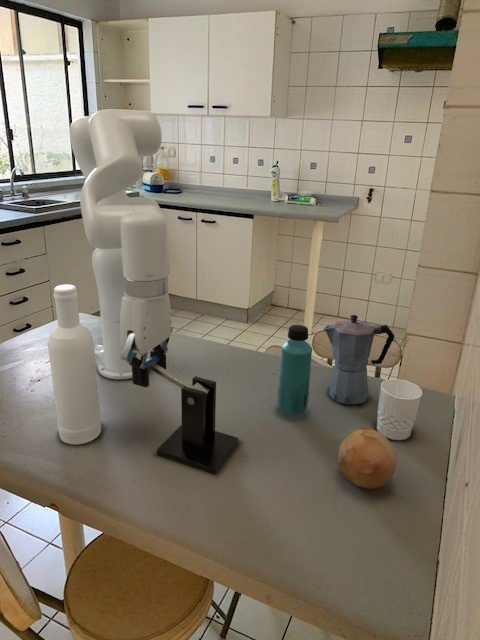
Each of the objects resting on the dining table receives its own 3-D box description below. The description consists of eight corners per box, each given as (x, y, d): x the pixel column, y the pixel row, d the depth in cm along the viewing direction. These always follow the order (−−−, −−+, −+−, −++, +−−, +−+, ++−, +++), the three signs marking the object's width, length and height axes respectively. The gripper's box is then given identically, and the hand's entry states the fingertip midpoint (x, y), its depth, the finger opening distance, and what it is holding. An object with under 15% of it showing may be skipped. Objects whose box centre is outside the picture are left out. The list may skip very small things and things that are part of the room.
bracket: (157, 454, 86) (154, 389, 80) (184, 426, 94) (183, 366, 89) (215, 474, 81) (216, 407, 76) (238, 442, 90) (240, 380, 85)
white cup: (385, 415, 101) (392, 374, 97) (420, 431, 95) (429, 389, 92) (366, 429, 95) (373, 387, 92) (401, 447, 90) (410, 403, 86)
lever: (136, 373, 84) (139, 362, 83) (152, 362, 89) (155, 352, 87) (196, 409, 81) (200, 399, 80) (209, 396, 86) (213, 386, 84)
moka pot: (314, 383, 112) (322, 306, 105) (377, 386, 112) (390, 309, 105) (319, 404, 104) (328, 322, 96) (388, 408, 103) (403, 325, 96)
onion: (404, 495, 78) (414, 446, 74) (351, 506, 75) (360, 455, 72) (373, 458, 87) (381, 413, 83) (325, 467, 84) (331, 420, 80)
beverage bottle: (305, 422, 97) (314, 335, 89) (274, 418, 98) (280, 331, 91) (307, 406, 103) (316, 323, 95) (278, 402, 104) (284, 319, 97)
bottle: (50, 438, 89) (29, 290, 78) (77, 417, 96) (62, 278, 84) (84, 449, 86) (67, 297, 75) (110, 427, 93) (98, 284, 82)
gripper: (155, 271, 89) (158, 356, 95) (95, 295, 74) (104, 394, 81) (189, 276, 86) (190, 364, 93) (135, 303, 71) (140, 405, 78)
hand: (150, 377), depth 87 cm, fingers closed on lever, 5 cm apart
